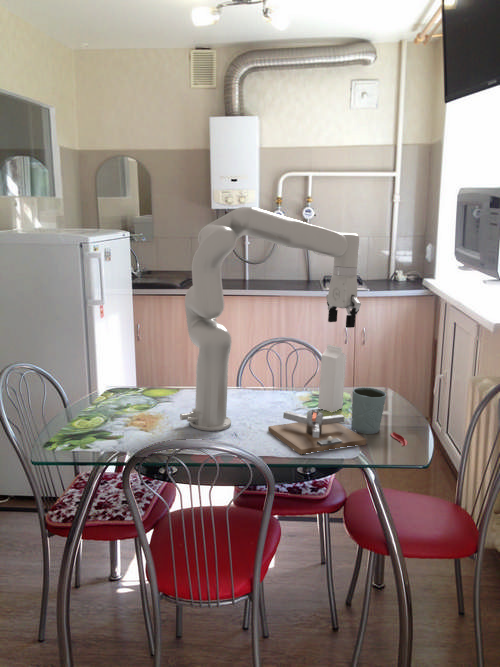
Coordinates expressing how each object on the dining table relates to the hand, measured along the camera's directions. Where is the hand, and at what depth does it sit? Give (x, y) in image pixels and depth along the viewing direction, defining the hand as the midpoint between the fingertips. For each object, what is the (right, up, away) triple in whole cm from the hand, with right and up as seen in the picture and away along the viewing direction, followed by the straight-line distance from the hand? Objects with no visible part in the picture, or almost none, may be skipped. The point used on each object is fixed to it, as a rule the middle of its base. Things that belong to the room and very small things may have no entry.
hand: (341, 324), depth 193 cm
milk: (-2, -29, +8) cm, 30 cm away
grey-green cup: (+6, -33, -9) cm, 35 cm away
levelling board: (-10, -34, -18) cm, 40 cm away
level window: (-7, -34, -26) cm, 44 cm away
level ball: (-7, -33, -27) cm, 43 cm away
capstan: (-9, -32, -18) cm, 38 cm away
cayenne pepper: (+15, -35, -17) cm, 42 cm away
